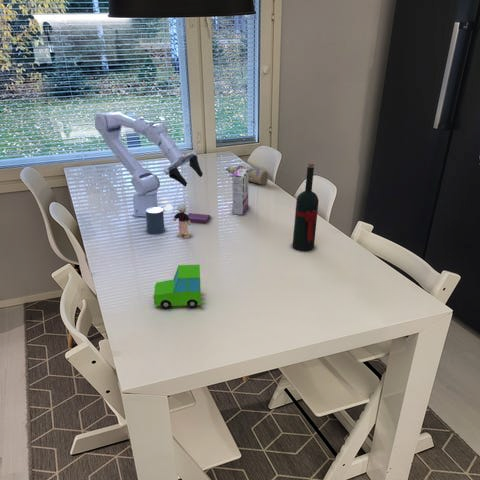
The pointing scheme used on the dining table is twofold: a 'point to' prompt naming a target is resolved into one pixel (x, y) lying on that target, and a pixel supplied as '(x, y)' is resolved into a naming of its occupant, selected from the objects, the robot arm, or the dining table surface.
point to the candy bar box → (240, 191)
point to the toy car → (180, 288)
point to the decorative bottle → (252, 174)
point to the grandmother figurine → (182, 220)
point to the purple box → (198, 218)
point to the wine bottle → (306, 215)
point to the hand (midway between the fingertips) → (193, 180)
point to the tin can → (155, 220)
